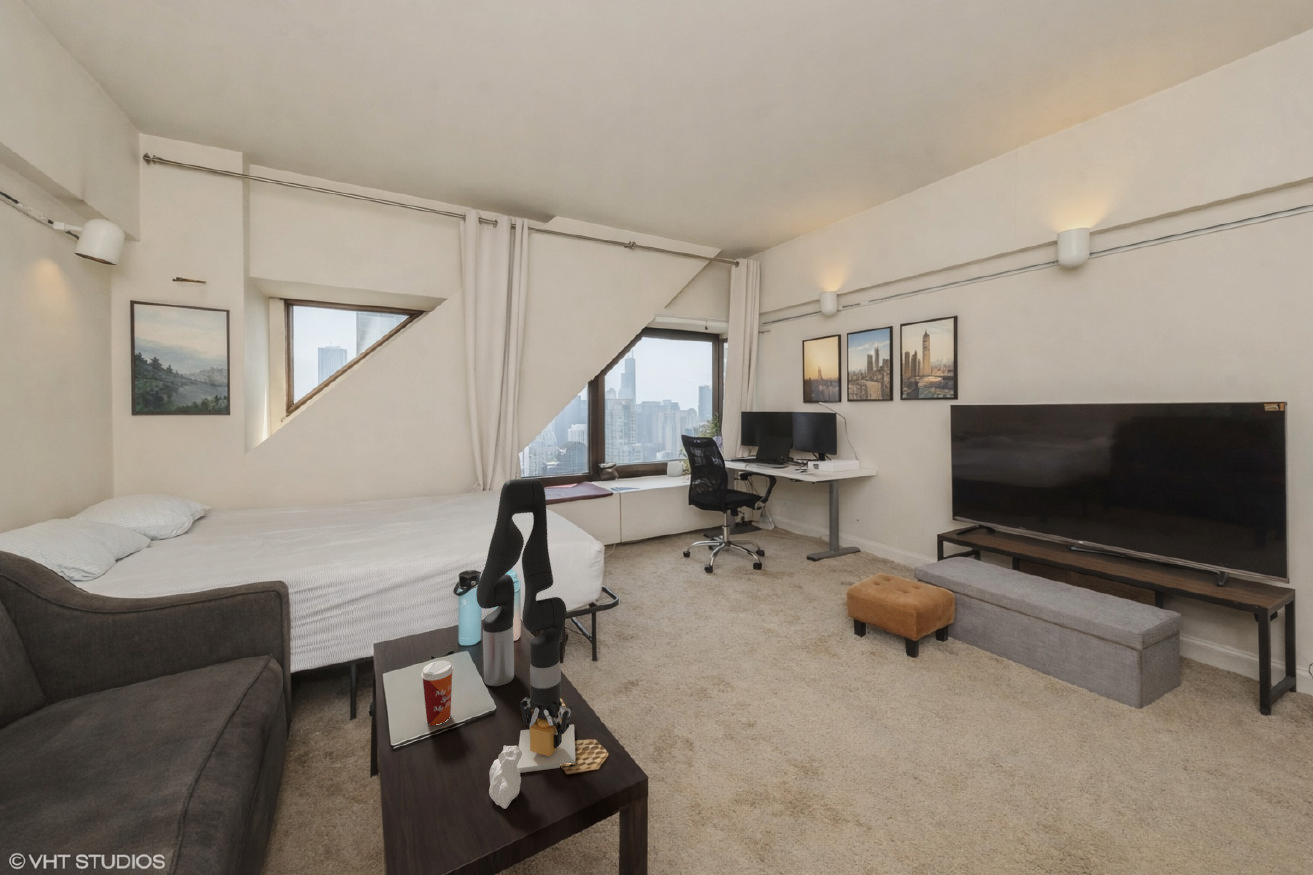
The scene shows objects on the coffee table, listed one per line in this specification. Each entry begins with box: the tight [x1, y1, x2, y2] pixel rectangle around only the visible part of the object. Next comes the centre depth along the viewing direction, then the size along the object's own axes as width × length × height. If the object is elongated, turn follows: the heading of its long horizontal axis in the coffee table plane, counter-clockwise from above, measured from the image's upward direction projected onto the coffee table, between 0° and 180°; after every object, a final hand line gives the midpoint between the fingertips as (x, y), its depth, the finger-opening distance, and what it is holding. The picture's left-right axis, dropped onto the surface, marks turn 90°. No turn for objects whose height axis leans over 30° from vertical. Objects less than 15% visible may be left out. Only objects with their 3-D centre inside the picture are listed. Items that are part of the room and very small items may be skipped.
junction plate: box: [517, 724, 576, 774], centre depth 127 cm, size 15×14×6 cm
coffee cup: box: [420, 660, 454, 726], centre depth 139 cm, size 8×8×15 cm
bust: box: [488, 745, 522, 810], centre depth 113 cm, size 12×8×11 cm
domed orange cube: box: [529, 717, 562, 756], centre depth 124 cm, size 6×6×7 cm
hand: (546, 743), depth 125 cm, fingers closed on domed orange cube, 5 cm apart
